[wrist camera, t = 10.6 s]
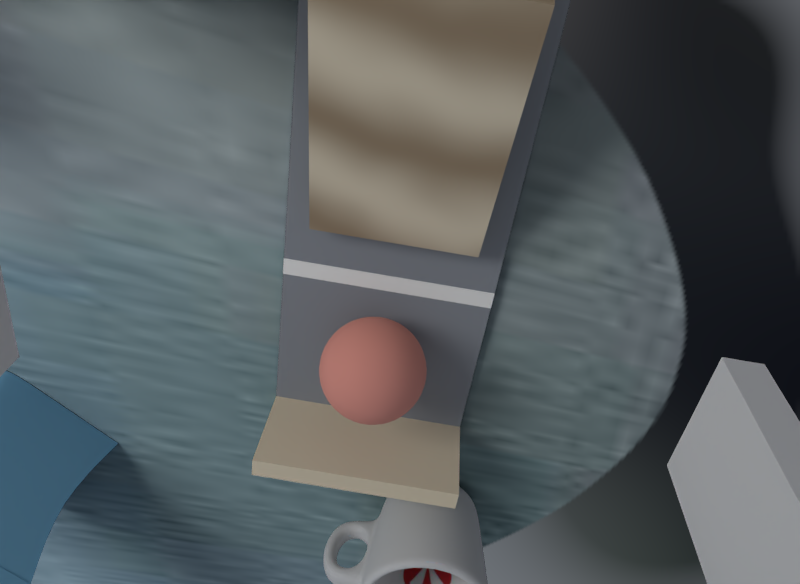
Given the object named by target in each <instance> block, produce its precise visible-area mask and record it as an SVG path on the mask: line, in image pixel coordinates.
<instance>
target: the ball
mask: <svg viewBox="0 0 800 584" xmlns="http://www.w3.org/2000/svg"><path fill="white" fill-rule="evenodd" d="M426 375H427V367H426V359H425V356H424V352H423V350H422V348H421V346H420V344H419V342H418V340H417V339H416V338H415V336H414V335H413V334H412V333H411V332H410V331H409V330H408V329H407V328H405V327H404V326H403V325H401V324H399V323H397V322H395V321H393V320H390V319H387V318H383V317H363V318H359V319H356V320H353V321H351V322H349V323H347V324H345V325H344V326H342V327H341V328H339V329H338V330H337V331H336V332H335V333H334V334H333V335H332V336H331V338H330V339H329V340H328V342H327V344H326V345H325V347H324V350H323V352H322V355H321V359H320V365H319V377H320V383H321V387H322V390H323V392H324V394H325V396H326V398H327V400H328V401H329V403H330V404H331V405H332V407H333V408H334V409H335V410H336V411H337V412H339V413H340V414H341V415H342V416H344V417H346V418H347V419H349V420H352V421H354V422H357V423H360V424H366V425H378V424H385V423H388V422H391V421H394V420H396V419H398V418H400V417H401V416H403V415H404V414H406V413H407V412H408V411H409V410H410V409H411V408H412V407H413V406H414V405H415V404H416V402H417V401H418V399H419V397H420V396H421V394H422V391H423V388H424V386H425V382H426Z"/></svg>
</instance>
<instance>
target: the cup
mask: <svg viewBox="0 0 800 584" xmlns="http://www.w3.org/2000/svg"><path fill="white" fill-rule="evenodd" d="M354 538H357V539H361V540H363V541H364V542H366V544H367V546H368V547H367V551H366V554H365V556H364V558H363V559H362V561H361V562H360V563H359V564H358V565H356V566H354V567H352V568H343V567H340V566H339V565H338V564H337V560H336V559H337V554H338V551H339V549H340V548H341V546H342V545H343V544H344V543H345V542H346V541H348V540H350V539H354ZM324 569H325V572H326V575H327V577H328V579H329V580H330V581H331V582H332V583H333V584H488V583H487V576H486V569H485V561H484V554H483V547H482V540H481V533H480V525H479V520H478V515H477V511H476V508H475V505H474V503H473V501H472V499H471V498H470V496H469V495H468V494H467V493H466V492H465V491H464V490H463V489H462V488H461V487H459V497H458V500H457V504H456V507H455V509H454V508H448V507H442V506H436V505H430V504H424V503H418V502H412V501H406V500H400V499H394V498H388V497H387V499H386V501H385V503H384V505H383V508H382V511H381V513H380V516H379V517H378V518H377V519H376V520H373V521H352V522H347V523H344V524H342V525H340V526H339V527H337V528H336V529H335V530H334V532H333V533H332V534H331V536H330V538H329V540H328V542H327V544H326V547H325V551H324Z"/></svg>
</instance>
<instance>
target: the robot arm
mask: <svg viewBox="0 0 800 584" xmlns="http://www.w3.org/2000/svg"><path fill="white" fill-rule="evenodd" d="M18 357H19V353H18V348H17V343H16V339H15V334H14V329H13V324H12V319H11V315H10V310H9V305H8V300H7V296H6V291H5V286H4V281H3V276H2V272H1V267H0V377H1V375H2V374H3V373H4V372H5V371H6V370H7V369H8V368H9V367H10V366H11V365H12V364H13V363H14V362H15V361H16V360H17V358H18ZM667 467H668V470H669V472H670V475H671V478H672V481H673V484H674V487H675V490H676V493H677V496H678V499H679V502H680V505H681V508H682V511H683V513H684V517H685V520H686V522H687V525H688V528H689V531H690V534H691V537H692V539H693V543H694V546H695V549H696V552H697V555H698V557H699V560H700V564H701V567H702V569H703V572H704V575H705V578H706V581H707V584H800V422H799V420H798V419H797V417H796V415H795V414H794V412H793V410H792V409H791V407H790V405H789V404H788V402H787V401H786V399H785V397H784V396H783V394H782V392H781V391H780V389H779V388H778V386H777V384H776V383H775V381H774V379H773V378H772V376H771V374H770V373H769V371H768V369H767V368H766V366H765V365H764V364H759V363H753V362H747V361H741V360H735V359H729V358H723V357H722V358H721V360H720V362H719V364H718V366H717V368H716V370H715V372H714V374H713V376H712V378H711V380H710V382H709V384H708V386H707V388H706V390H705V392H704V394H703V395H702V397H701V399H700V401H699V403H698V405H697V407H696V410H695V411H694V413H693V415H692V417H691V419H690V421H689V423H688V425H687V427H686V429H685V431H684V433H683V435H682V437H681V439H680V441H679V443H678V445H677V447H676V448H675V451H674V452H673V454H672V457H671V458H670V460H669V463H668V464H667Z"/></svg>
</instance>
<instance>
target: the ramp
mask: <svg viewBox="0 0 800 584" xmlns="http://www.w3.org/2000/svg"><path fill="white" fill-rule="evenodd" d="M554 6H555V0H308V97H309V229H312V230H318V231H324V232H330V233H336V234H342V235H348V236H354V237H360V238H366V239H372V240H378V241H384V242H390V243H396V244H402V245H408V246H414V247H420V248H426V249H431V250H437V251H443V252H449V253H455V254H461V255H467V256H473V257H479V254H480V251H481V247H482V244H483V241H484V237H485V234H486V231H487V227H488V224H489V221H490V218H491V214H492V211H493V208H494V204H495V201H496V198H497V194H498V191H499V188H500V185H501V181H502V178H503V175H504V171H505V168H506V165H507V161H508V158H509V155H510V151H511V148H512V145H513V142H514V138H515V135H516V132H517V128H518V125H519V122H520V118H521V115H522V112H523V109H524V105H525V102H526V99H527V95H528V92H529V89H530V85H531V82H532V79H533V76H534V72H535V69H536V66H537V62H538V59H539V56H540V52H541V49H542V46H543V43H544V39H545V36H546V33H547V29H548V26H549V23H550V19H551V16H552V13H553V10H554Z"/></svg>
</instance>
